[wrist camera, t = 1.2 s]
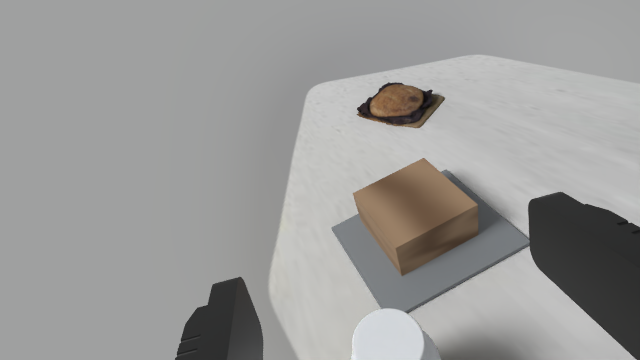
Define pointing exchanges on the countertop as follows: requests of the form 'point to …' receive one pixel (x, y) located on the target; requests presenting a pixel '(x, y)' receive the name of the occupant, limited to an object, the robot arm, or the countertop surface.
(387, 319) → the supplement bottle
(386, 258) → the mat
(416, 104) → the bread roll
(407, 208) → the walnut block
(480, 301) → the countertop surface
